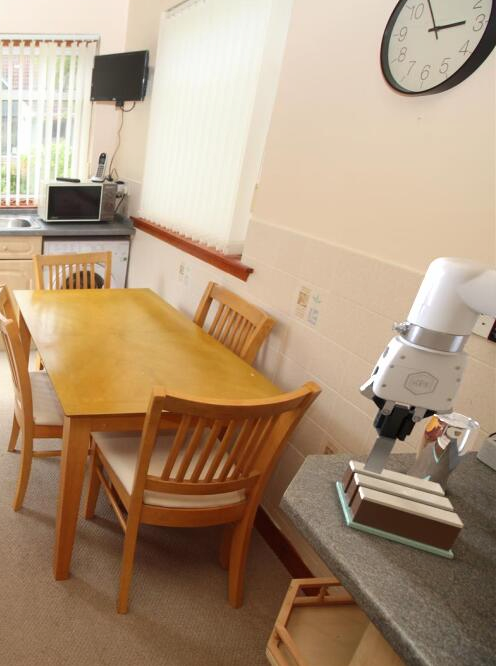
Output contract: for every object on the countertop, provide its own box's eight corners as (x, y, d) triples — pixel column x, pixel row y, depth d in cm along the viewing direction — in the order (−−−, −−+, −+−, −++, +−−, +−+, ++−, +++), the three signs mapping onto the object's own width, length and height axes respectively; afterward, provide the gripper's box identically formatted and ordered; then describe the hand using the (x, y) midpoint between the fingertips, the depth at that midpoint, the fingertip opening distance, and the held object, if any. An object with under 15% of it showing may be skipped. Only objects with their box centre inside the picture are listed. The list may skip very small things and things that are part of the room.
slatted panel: (427, 511, 86) (441, 482, 84) (452, 559, 76) (469, 529, 74) (335, 484, 92) (346, 457, 89) (347, 526, 82) (360, 497, 79)
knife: (379, 471, 85) (409, 406, 79) (381, 476, 83) (412, 410, 78) (362, 466, 86) (391, 402, 80) (364, 471, 84) (393, 406, 79)
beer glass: (445, 501, 89) (480, 434, 83) (398, 481, 93) (428, 416, 88) (450, 485, 93) (484, 420, 87) (405, 467, 98) (434, 404, 92)
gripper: (376, 333, 74) (337, 431, 82) (512, 358, 68) (456, 461, 75) (366, 319, 81) (330, 411, 88) (489, 340, 74) (439, 437, 81)
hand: (389, 433), depth 81 cm, fingers closed on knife
